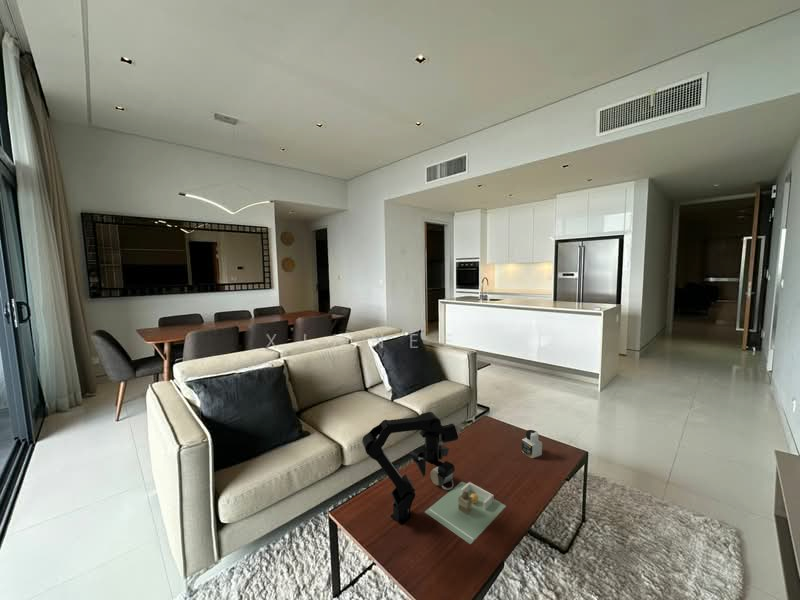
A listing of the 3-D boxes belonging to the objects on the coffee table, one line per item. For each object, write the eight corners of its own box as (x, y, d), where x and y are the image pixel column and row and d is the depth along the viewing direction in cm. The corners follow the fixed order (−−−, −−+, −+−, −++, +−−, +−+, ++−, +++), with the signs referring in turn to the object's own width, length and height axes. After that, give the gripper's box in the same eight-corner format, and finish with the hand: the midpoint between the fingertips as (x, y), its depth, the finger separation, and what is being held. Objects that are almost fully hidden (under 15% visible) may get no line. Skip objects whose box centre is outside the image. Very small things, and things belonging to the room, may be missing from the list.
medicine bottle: (521, 451, 174) (521, 430, 172) (531, 448, 177) (531, 427, 175) (531, 458, 167) (532, 436, 166) (542, 455, 170) (542, 433, 169)
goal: (485, 509, 133) (485, 503, 133) (460, 495, 142) (460, 489, 141) (493, 501, 138) (493, 495, 137) (469, 488, 146) (469, 481, 146)
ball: (479, 494, 137) (480, 499, 138) (471, 490, 139) (472, 495, 140) (475, 501, 134) (476, 506, 136) (467, 497, 137) (468, 502, 138)
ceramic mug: (429, 481, 152) (429, 466, 151) (442, 474, 157) (442, 459, 156) (444, 494, 143) (444, 478, 142) (458, 487, 148) (458, 471, 147)
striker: (466, 514, 131) (466, 497, 130) (458, 509, 134) (458, 492, 133) (472, 509, 134) (472, 492, 133) (464, 504, 137) (464, 487, 136)
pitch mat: (470, 545, 117) (470, 544, 117) (424, 512, 133) (424, 511, 133) (506, 506, 135) (506, 505, 135) (461, 482, 151) (461, 481, 151)
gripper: (463, 445, 131) (463, 481, 133) (427, 429, 144) (428, 462, 146) (445, 457, 123) (446, 495, 125) (410, 439, 136) (410, 473, 138)
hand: (432, 480), depth 134 cm, fingers open, 9 cm apart
